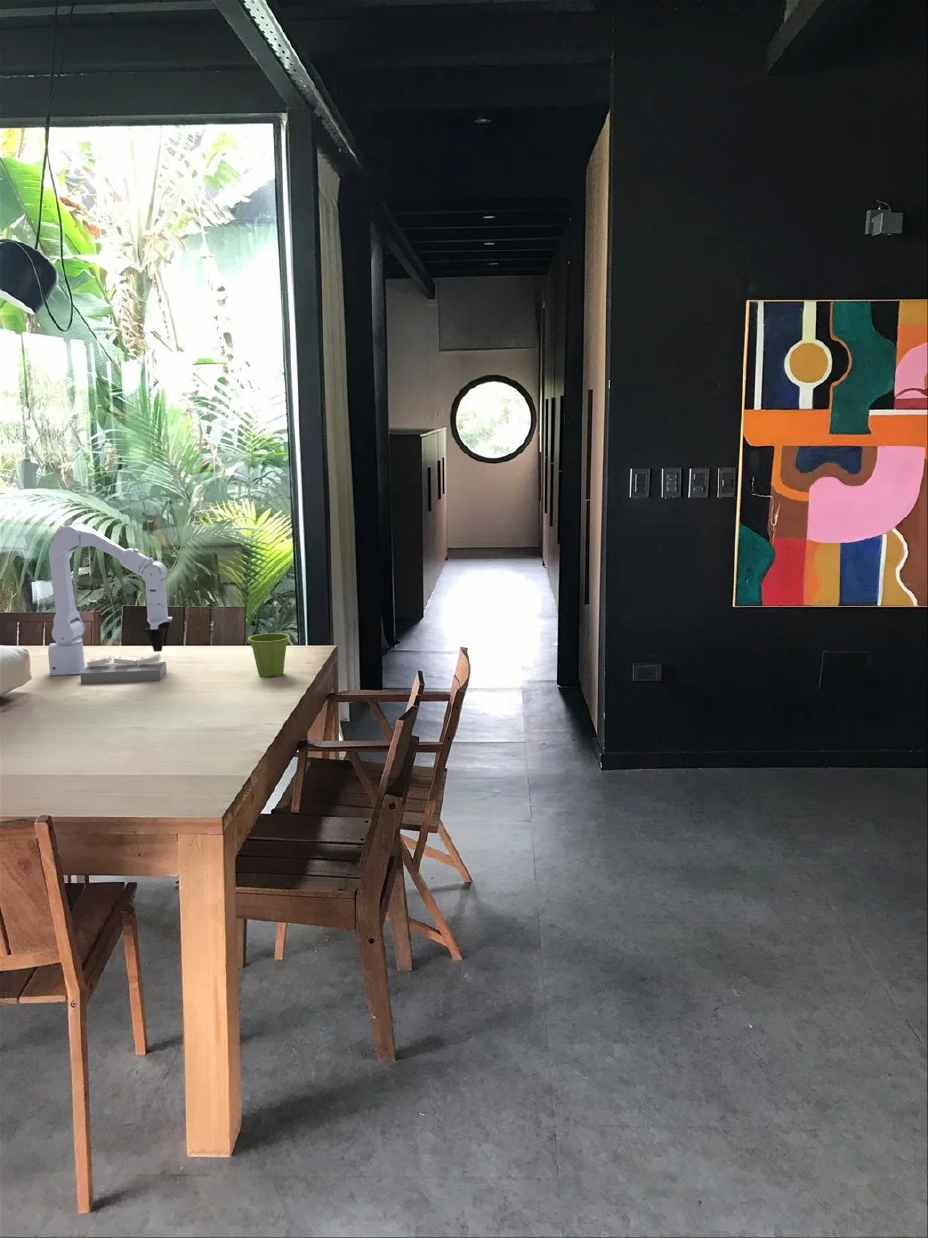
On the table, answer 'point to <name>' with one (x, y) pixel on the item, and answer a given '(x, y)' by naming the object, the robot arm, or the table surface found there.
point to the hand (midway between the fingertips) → (160, 648)
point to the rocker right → (148, 659)
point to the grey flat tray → (123, 672)
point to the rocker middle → (125, 660)
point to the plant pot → (269, 653)
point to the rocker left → (99, 661)
